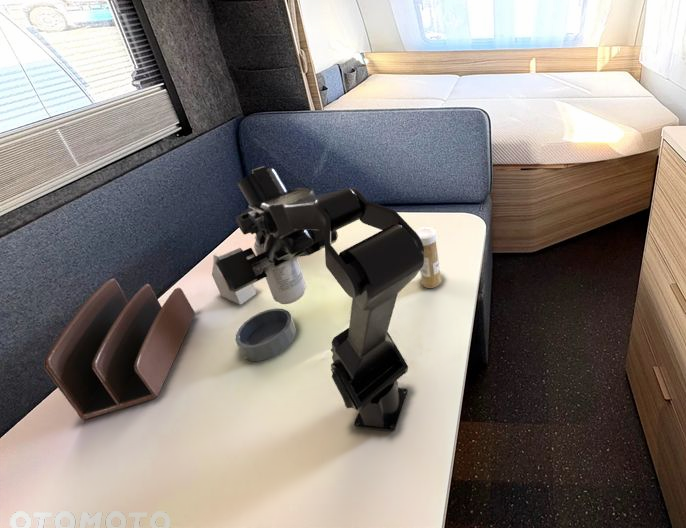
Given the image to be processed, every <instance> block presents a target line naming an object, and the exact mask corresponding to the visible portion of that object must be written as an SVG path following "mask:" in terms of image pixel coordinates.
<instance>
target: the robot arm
mask: <svg viewBox="0 0 686 528" xmlns="http://www.w3.org/2000/svg"><path fill="white" fill-rule="evenodd" d="M237 186H238V188H239V189H240V191H241V193H242V195H243V196H244V198H245V200H246V201H247V203H248V206H247V208H248V209H246V210H244V211H242V212H241V214H240V215H237V216H236V218H235V220H236V224H237V226H238V228H239V230H240V232H241V233H242V234H243V235H248V234H250V235H254V234H255V235H257V237H256V240H257V242H258V244H259V245H262V244H263V251H264V253H261V254H259V255H257V254H256V252H254V250H253V248H252V247H249V248H247V249H244V250H243V249H242V248H241V247H238V248H236V249H234V250H231V251H229V252H227V253H224V254H222V255H219V256H220V257H218V258H217V260H216V262H215V264H216V267H217V268H218V270H219V272H220V274H221V276H222V278H223V280H224V281H225V283H226V285H227V287H228V289H229V291H232V292H236V291H238V290H240V289H242V288H244V287H246V286H248V285H250V284H253V285H254V284H255V283H257V282H259V281H261V280H264V279H266V278H265V277H267V275H266V273H265V271H264V269H263V268H265V267H267V266H269V265H271V264H274V265H275V267H278V266H280V265H282V264H284V263H286V262H288V261H290V260H292V259H294V258H296V257H297V258H300V257H307V256H312V255H313V254H315V253H317V252H319V251H321V250H323V249H324V262H325V267H326V269H327V270H328V271H329V272H330V274H331V275H332V276H333V278H334V279H335V280H336V282H337V283H338V284H339V285H340V287H341V288H342V290H343V291H344V292H345V294H346V295H347V296H348V297H350V298H352V300H351V302H352V303H351V309H350V316H349V318H350V319H349V326H348V327H347V328H346V329H344V330H343V331H341V332H340V333H338V334H337V335H336V336H334V337H333V338H332V341H331V349H330V352H331V353H332V355H331V359H332V363H331V364H330V371H331V379H332V381H333V382H334V385H335V386H336V388H337V390H338V392H339V395H340V396H341V398H342V400H343V404H344V406H345V407H346V409H354V410H355V412H357V413H358V414H357V416H356V418H355V420H354V423H353V425H354V427H355V428H356V429H364V430H374V431H385V432H395V430H397V427H398V424H399V421H400V418H401V415H402V412H403V410H404V407H405V403H406V401H407V397H408V394H409V390H408V388H406V387H404V388H403V387H399V383H398V380H399V379H400V378H401V377H403V376H404V375H406V374H407V373H408V370H409V365H408V363H407V362H406V360H405V358H404V357H403V354H402V353H401V352H400V350H399V347H398V346H397V345H396V343H395V341H394V340H393V338H392V336H391V335H390V334H389V331H388V330H389V327H390V324H391V319H392V315H393V313H394V310H395V305H396V301H397V297H398V294H399V293H400V292H401V291H402V290H403V289H404V288H405V287H406V286H407V285H409V284H410V283H411V281H413V280H414V279H415V278H416V277H417V275H418V274H419V273H420V270H421V268H422V267H423V264H424V247H423V243H422V241H421V239H420V237H419V236H418V235H417V233H416V231H415V230H414V229H413V227H411V226H410V224H408V223H407V221H405V220H404V218H403V217H402V216H401V215H400V214H399V213H398V212H397V211H396V210H394V209H392V208H389V207H386V206H384V205H381V204H378V203H375V202H373V201H370V200H367V199H366V197H364V196H363V194H361V192H360V191H359V190H357V188H355V187H350V188H349V187H345V188H342V189H339V190H337V191H330V192H325V193H318V194H315V192H314V190H312V189H311V188H307V187H300V186H299V187H296V188H294V189H290V190H287V188H286V186H285V184H284V182H283V181H282V179H281V177H280V176H279V174H278V172H277V171H276V169H274V168H267V167H266V165H265V166H260V167H258V168H254V169H251V173H249V174H247V175H245V177H243V178H242V179H240V181H238V182H237ZM357 221H360V222H361V223H362V224H364V225H367V226H369V227H372V228H375V229H378V230H380V231H378V232H376V233H374V234H372V235H370V236H369V237H366V238H365V239H363V240H361V241H359V242H357V243H355V244H353V245H351V246H349V247H347V248H345V249H343V250H341V251H339V253H338V252H337V251H336V249H335V248H334V247H333V244H334V243H336V242H337V240H338V237H339V235H338V230H339V229H342V228H344V227H346V226H348V225H351V224H353V223H354V222H357ZM268 259H269V260H268ZM265 260H267V262H266V261H265ZM262 261H264V262H265V263H264V262H262ZM260 262H262V264H261V263H260Z"/></svg>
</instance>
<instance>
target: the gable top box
mask: <svg viewBox="0 0 686 528" xmlns="http://www.w3.org/2000/svg"><path fill="white" fill-rule="evenodd" d="M220 256H221V255H219V254H217V253H215V254H213V264H212V269H211V277H212V279H213V281H214V283H215V285H216V288H217V291H218V292H219V294H220V296H221V297H223V298H225V299H226V300H229V301H231V302H233V303H236V304H238V305H240V306H241V305H242V304H244V303H246V302H247V301H248V300H250V299H251V298H252V297H253V296H255V295H257V291H256V288H255V285H254V283H253V284H250V285H248V286H246V287H244V288H242V289H240V290H238V291H236V292H232V291H229V289H228V287H227V285H226V283H225V281H224V280H223V278H222V276H221V274H220V272H219V270H218V268H217V267H216V264H215V262H216V260H217V258H218V257H220Z"/></svg>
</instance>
